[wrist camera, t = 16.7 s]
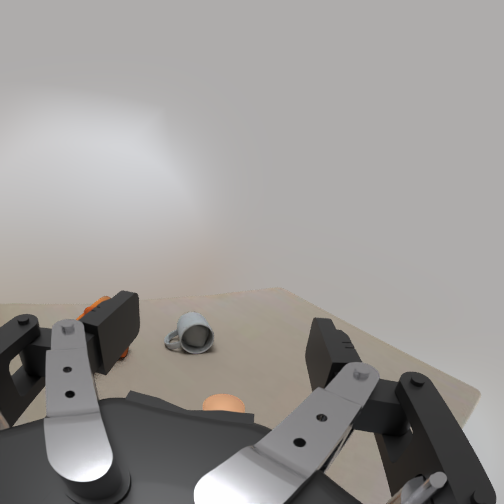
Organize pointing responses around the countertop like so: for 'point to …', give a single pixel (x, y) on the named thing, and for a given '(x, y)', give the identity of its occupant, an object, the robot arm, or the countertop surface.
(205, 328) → the ceramic mug
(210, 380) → the countertop surface
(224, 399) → the cylinder
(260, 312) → the countertop surface
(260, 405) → the countertop surface
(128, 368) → the countertop surface
